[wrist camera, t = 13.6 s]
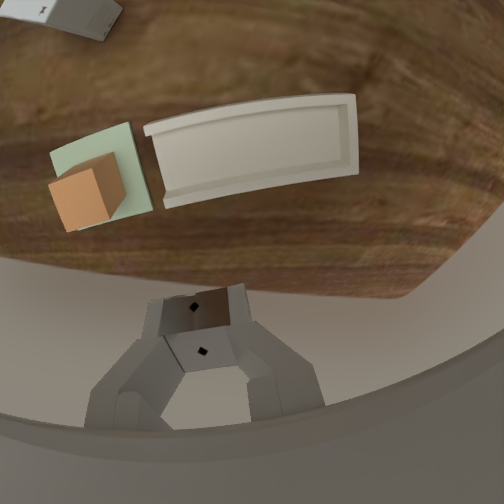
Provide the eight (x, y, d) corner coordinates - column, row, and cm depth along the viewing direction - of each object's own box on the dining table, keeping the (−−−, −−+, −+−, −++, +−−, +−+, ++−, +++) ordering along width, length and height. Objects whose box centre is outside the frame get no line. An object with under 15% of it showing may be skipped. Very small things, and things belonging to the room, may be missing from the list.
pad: (129, 121, 25) (128, 121, 24) (154, 208, 30) (153, 210, 30) (52, 151, 24) (49, 152, 24) (80, 227, 30) (78, 230, 29)
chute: (342, 92, 26) (355, 94, 23) (347, 165, 30) (358, 174, 28) (149, 122, 25) (143, 126, 23) (169, 197, 30) (165, 208, 27)
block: (113, 151, 25) (91, 168, 20) (126, 194, 28) (110, 219, 23) (73, 165, 25) (48, 184, 20) (88, 206, 28) (67, 232, 23)
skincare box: (125, 7, 18) (78, -30, 8) (104, 42, 19) (44, 25, 9) (80, -4, 15) (22, -32, 5) (61, 30, 17) (-6, 17, 7)
